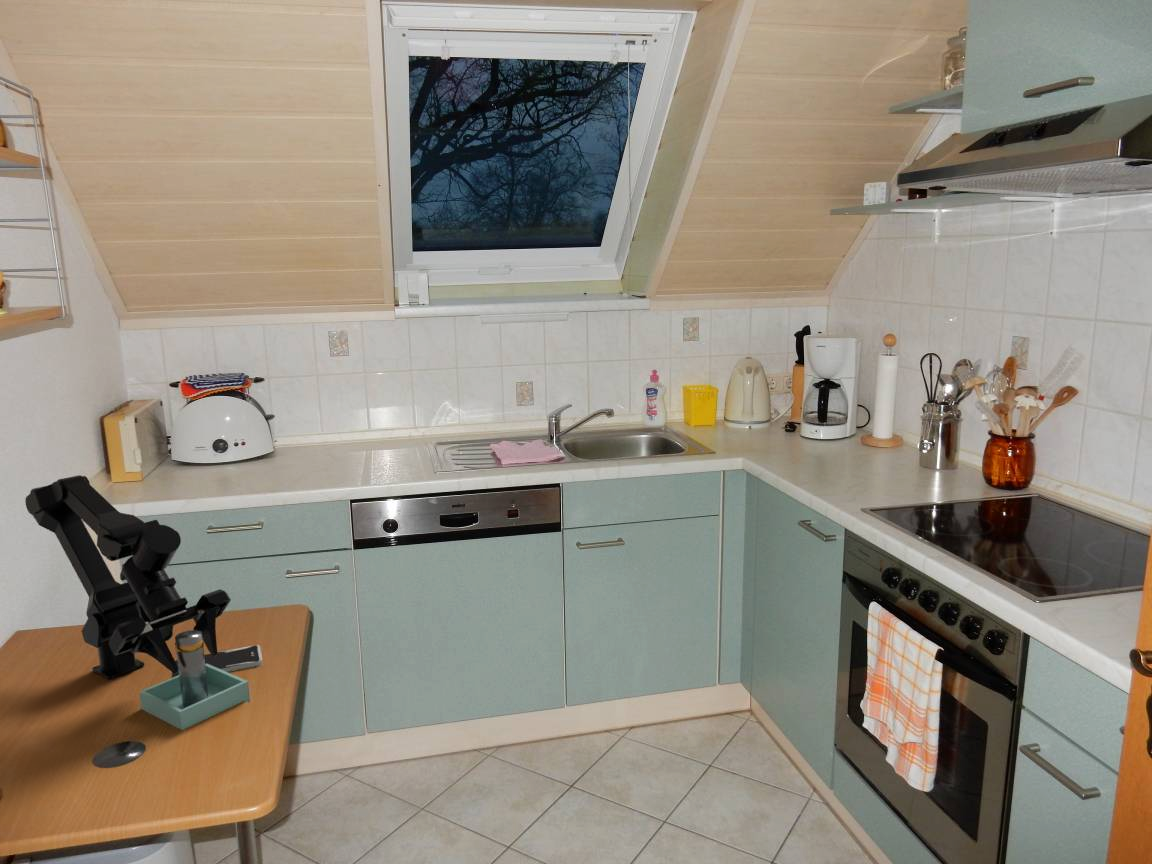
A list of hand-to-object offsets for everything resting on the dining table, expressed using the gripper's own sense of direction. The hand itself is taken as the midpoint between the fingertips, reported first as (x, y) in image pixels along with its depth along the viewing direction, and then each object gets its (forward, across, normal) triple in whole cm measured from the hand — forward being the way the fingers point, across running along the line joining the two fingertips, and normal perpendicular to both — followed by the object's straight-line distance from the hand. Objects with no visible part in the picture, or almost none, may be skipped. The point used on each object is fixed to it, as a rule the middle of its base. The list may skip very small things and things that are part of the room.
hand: (196, 663), depth 140 cm
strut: (+4, 0, -6) cm, 8 cm away
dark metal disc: (+8, +15, -4) cm, 17 cm away
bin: (+5, 0, -7) cm, 8 cm away
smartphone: (-2, -11, -15) cm, 19 cm away
